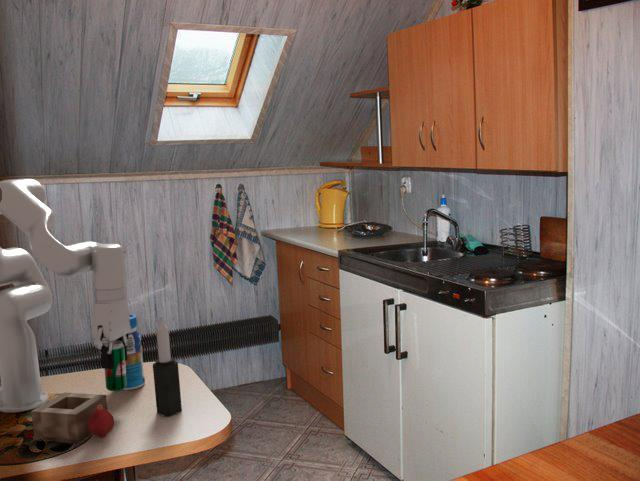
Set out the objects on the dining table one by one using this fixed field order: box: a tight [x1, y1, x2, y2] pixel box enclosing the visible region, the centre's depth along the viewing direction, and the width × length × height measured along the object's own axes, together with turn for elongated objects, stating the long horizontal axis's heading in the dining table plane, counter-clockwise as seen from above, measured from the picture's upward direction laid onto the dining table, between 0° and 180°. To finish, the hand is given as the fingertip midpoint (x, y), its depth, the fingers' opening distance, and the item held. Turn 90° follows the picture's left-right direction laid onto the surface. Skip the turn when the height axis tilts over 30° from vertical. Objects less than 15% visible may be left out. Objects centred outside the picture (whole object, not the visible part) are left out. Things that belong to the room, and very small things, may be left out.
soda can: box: [104, 340, 127, 392], centre depth 167 cm, size 5×5×12 cm
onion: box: [88, 405, 115, 439], centre depth 153 cm, size 6×6×8 cm
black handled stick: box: [152, 315, 183, 418], centre depth 166 cm, size 5×5×25 cm
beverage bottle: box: [122, 313, 146, 391], centre depth 187 cm, size 8×8×20 cm
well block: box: [30, 391, 109, 445], centre depth 158 cm, size 12×12×7 cm
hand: (114, 363), depth 167 cm, fingers closed on soda can, 5 cm apart
